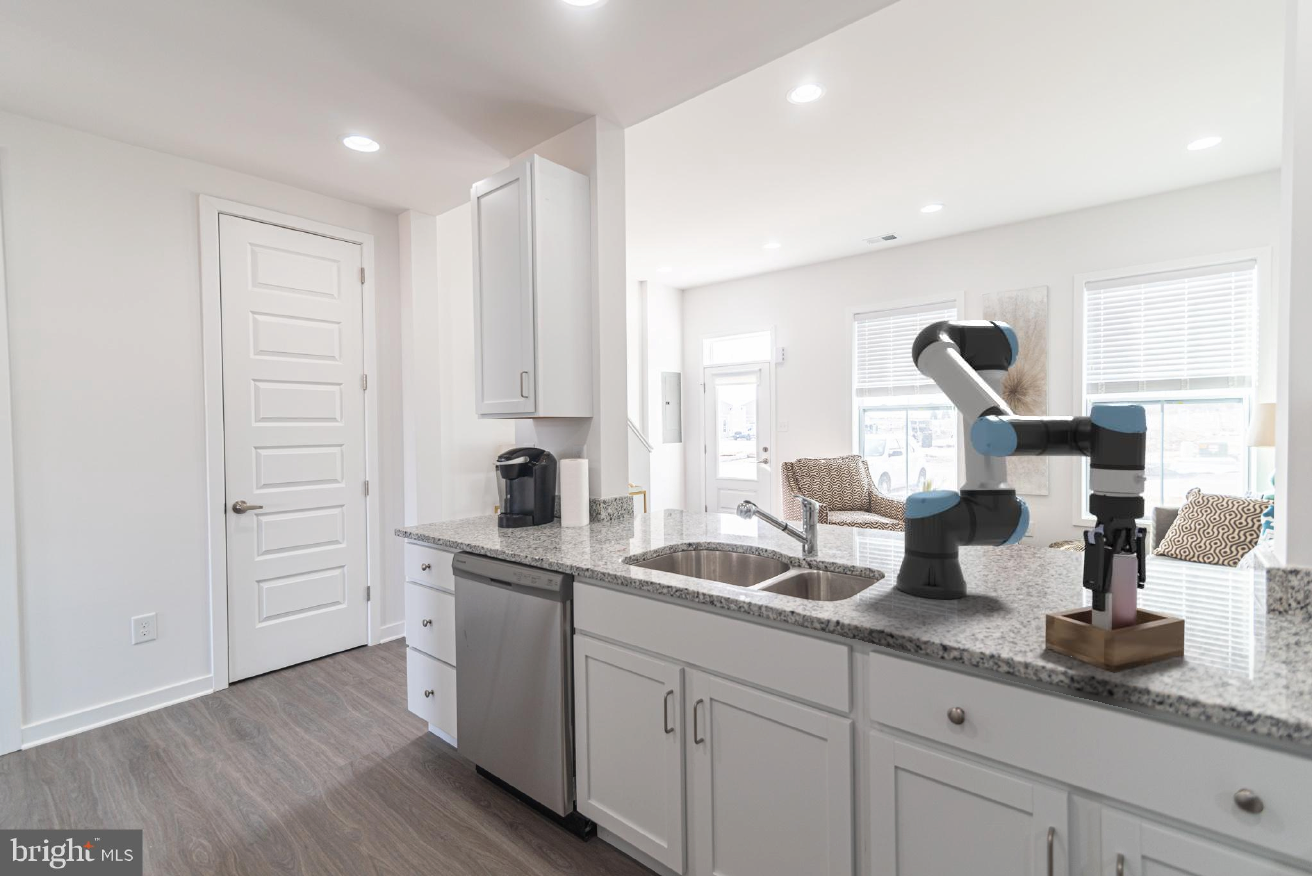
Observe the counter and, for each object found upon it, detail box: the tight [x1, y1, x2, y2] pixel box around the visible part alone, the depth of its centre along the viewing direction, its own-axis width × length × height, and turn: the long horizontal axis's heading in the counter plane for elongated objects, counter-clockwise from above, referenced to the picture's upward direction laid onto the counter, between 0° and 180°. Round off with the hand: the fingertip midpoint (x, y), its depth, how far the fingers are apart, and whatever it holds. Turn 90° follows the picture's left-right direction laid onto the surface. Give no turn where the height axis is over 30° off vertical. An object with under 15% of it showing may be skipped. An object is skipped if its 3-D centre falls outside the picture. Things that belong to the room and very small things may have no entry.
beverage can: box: [1108, 551, 1138, 630], centre depth 102 cm, size 6×6×15 cm
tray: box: [1044, 605, 1186, 673], centre depth 102 cm, size 11×19×6 cm, turn 112°
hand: (1113, 626), depth 102 cm, fingers closed on beverage can, 6 cm apart
